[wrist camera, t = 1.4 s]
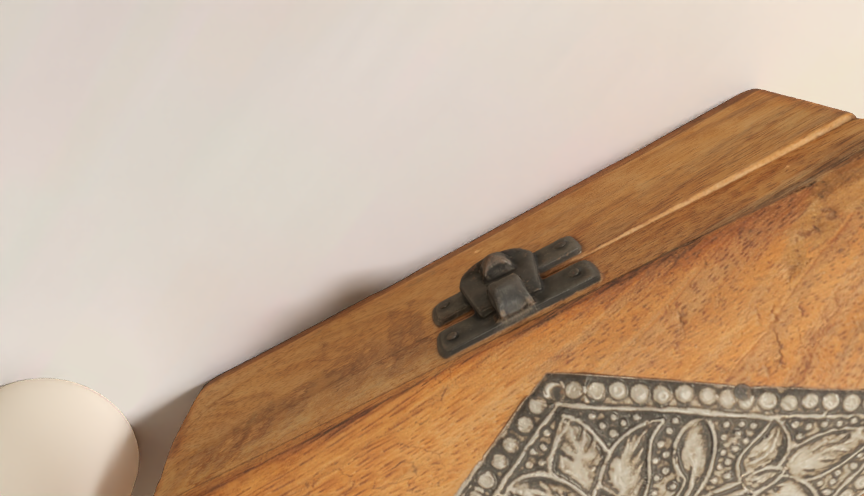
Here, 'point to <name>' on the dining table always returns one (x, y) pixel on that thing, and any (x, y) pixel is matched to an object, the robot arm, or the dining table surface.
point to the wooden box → (589, 341)
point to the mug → (64, 441)
